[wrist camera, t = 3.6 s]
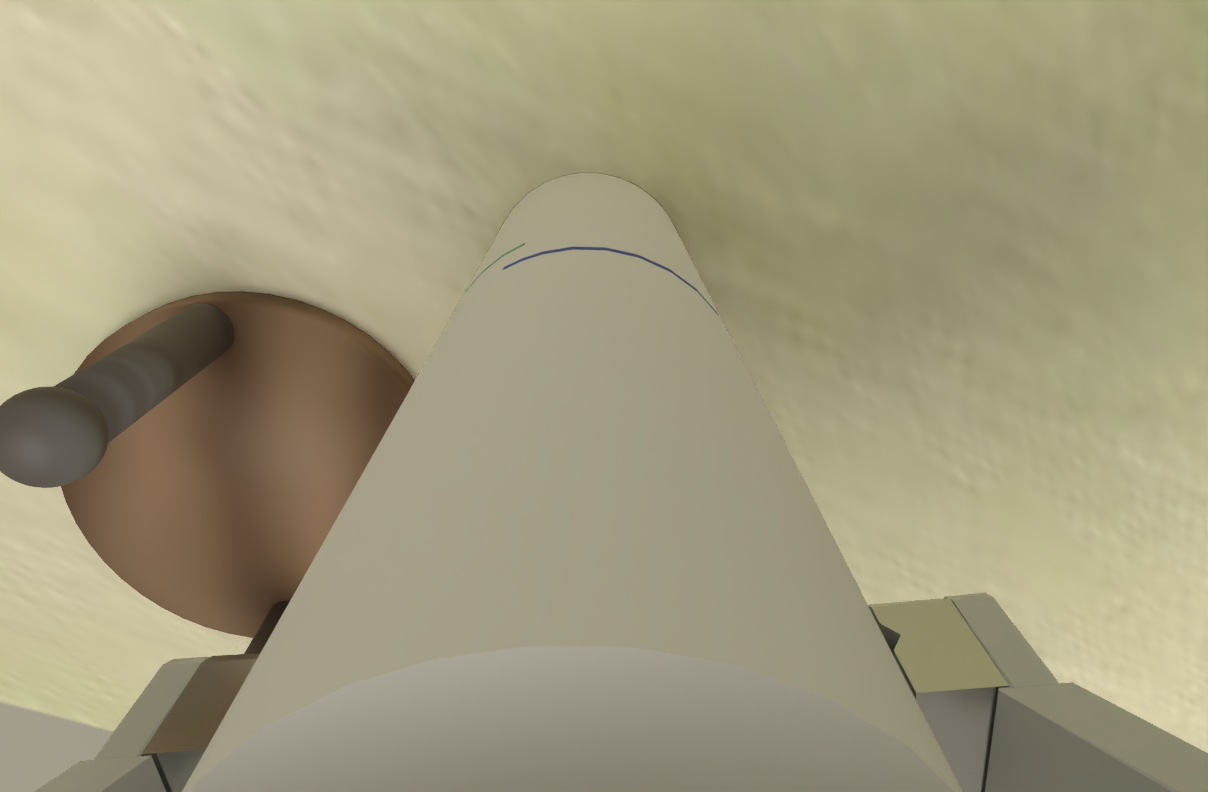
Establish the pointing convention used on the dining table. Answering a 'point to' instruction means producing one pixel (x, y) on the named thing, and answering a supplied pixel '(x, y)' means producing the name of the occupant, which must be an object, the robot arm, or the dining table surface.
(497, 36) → the dining table surface
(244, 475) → the roll holder
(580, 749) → the cylindrical container
